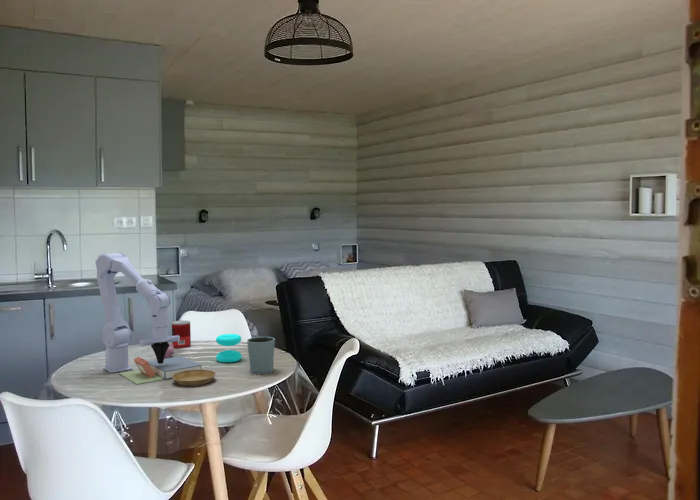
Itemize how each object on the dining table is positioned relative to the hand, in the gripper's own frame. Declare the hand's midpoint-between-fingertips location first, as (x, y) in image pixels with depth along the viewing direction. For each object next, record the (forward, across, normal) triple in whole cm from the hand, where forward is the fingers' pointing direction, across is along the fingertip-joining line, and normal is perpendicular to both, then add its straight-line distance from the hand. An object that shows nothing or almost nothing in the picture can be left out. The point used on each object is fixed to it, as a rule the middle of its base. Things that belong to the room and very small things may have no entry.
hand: (160, 363), depth 221 cm
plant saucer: (+4, +5, -18) cm, 19 cm away
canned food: (+4, +25, +39) cm, 47 cm away
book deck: (+4, +5, 0) cm, 7 cm away
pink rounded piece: (+4, +11, +22) cm, 25 cm away
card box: (0, -5, 0) cm, 5 cm away
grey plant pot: (+4, +30, -20) cm, 37 cm away
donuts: (+4, +29, +2) cm, 30 cm away
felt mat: (+4, -7, 0) cm, 8 cm away
